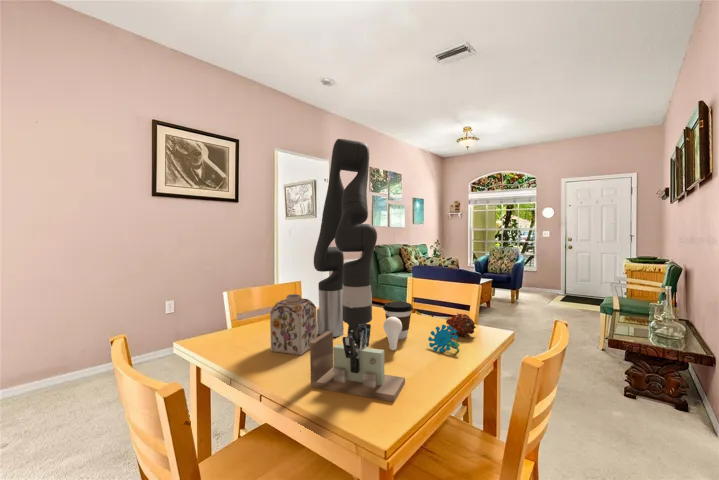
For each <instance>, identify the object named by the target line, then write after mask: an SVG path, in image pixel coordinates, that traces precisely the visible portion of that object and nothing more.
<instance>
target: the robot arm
mask: <svg viewBox="0 0 719 480" xmlns="http://www.w3.org/2000/svg"><path fill="white" fill-rule="evenodd" d="M332 147H333V148H332V151H331V153H332V154H331V159H330V160H331V161H330V170H329V179H328V184H327V185H328V186H327V191H326V195H325V199H324V204H323V210H322V215H321V216H322V217H321V224H320V230H319V235H318V238H317V242H316V246H315V250H314V254H313V266H314V269H315V270H316V271H317V272H321V273H323V272H324V273H325V272H331V274H330V275H329V276H328V277H327V278H323V279H321V280H320V281H319V282H318V309H317V308H316V321H317V336H318V335H319V336H321V335H322V334H324V333H325V332H327V331H333V338H335V337H336V338H337V337H341V336H342V335H344V323H345V324H347V325H348V327H347V335H346V336H342V345H343V346H344V351H345V356H346V358H350V371H351V372H352V373H359V371H360V365H359V354H360V349H361V348H362V347H364V348H369V346H370V337H371V329H372V326H371V325H372V324H370V322H372V320H373V302H372V301H373V294H372V287H371V286H372V285H371V283H372V282H371V267H372V260H373V257H374V251H375V249H376V244H377V241H378V240H377V239H378V232H377V230H376V228H375V226H374V225H372V224H370V223H365V222H366V221H367V220H368V217H369V209H368V197H367V195H368V194H367V193H368V191H367V189H368V179H369V165H370V149H369V146H368V144H367V143H366V142H362V141H357V140H350V139H345V138H338V139H336V140H335V141H334V144H333V146H332ZM342 171H346V172H354V173H356V175H355V176H354V178H353V179H352V180H351V181H350V182H349V183H348V184H347V185H346V187H344V185H343V182H342V179H341V172H342ZM333 241H334V244H335V246H331V244H332V242H333ZM357 252H358V253H361V252H362V255H361V256H360V258H358V259H354V260H350V261H347V262H344V261H345V260H344V259H345V258H344V257H345V256H344V253H357Z"/></svg>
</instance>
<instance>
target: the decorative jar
mask: <svg viewBox="0 0 719 480" xmlns="http://www.w3.org/2000/svg"><path fill="white" fill-rule="evenodd" d="M285 297H286V299H285V298H284V299H282V300H278V301H276V303H275V304H274V306H273V307H272V308H271V310H270V313H269V316H270V317H269V318H270V320H269V321H270V325H269V326H270V328H269V329H270V350H271V352H272V351H274V352H273V353H278V352H281V353H280V354H286V353H288V354H287V355H295V354H296V355H297V356H302V355H304V354H305V353H306V352H308V351H310V342H311V341H313V340H314V339H316V338H318V335H317V306H316V305H315V304H314V303H313V302H312V301H311V300H310V299H309V298H303V297H301V294H298V293H292V294H287V295H286V296H285Z"/></svg>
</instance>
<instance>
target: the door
mask: <svg viewBox="0 0 719 480" xmlns="http://www.w3.org/2000/svg"><path fill="white" fill-rule="evenodd" d="M359 365H360V371H359V373H352V372H351V371H350V358H346V356H345V351H344V346H343V344H338V343H337V344H336V345H333V367H334V368H342V369H346V380H351V381H357V382H363V373H364V372H368V373H375V374H376V385H382V384H383V383H384V382H385V375H386V374H385V349H381V348H379V349H378V348H372V347H371V348H369V347H366V348H364V347H362V348H361V349H360V354H359Z"/></svg>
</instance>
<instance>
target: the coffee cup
mask: <svg viewBox="0 0 719 480" xmlns="http://www.w3.org/2000/svg"><path fill="white" fill-rule="evenodd" d="M383 310H384V311H385V320H386V319H387V318H389V317H396V318H398V319H399V320H400V321H401V323H402V330H401V332H400V334H399V336H398V340H405V339H406V338H407V337H408V334H409V329H410V323H411V316H412V312H411V311H413V310H414V307H413V306H412V304H411V303H410V302H406V301H390V302H386V303H385V304H384V306H383Z"/></svg>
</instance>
